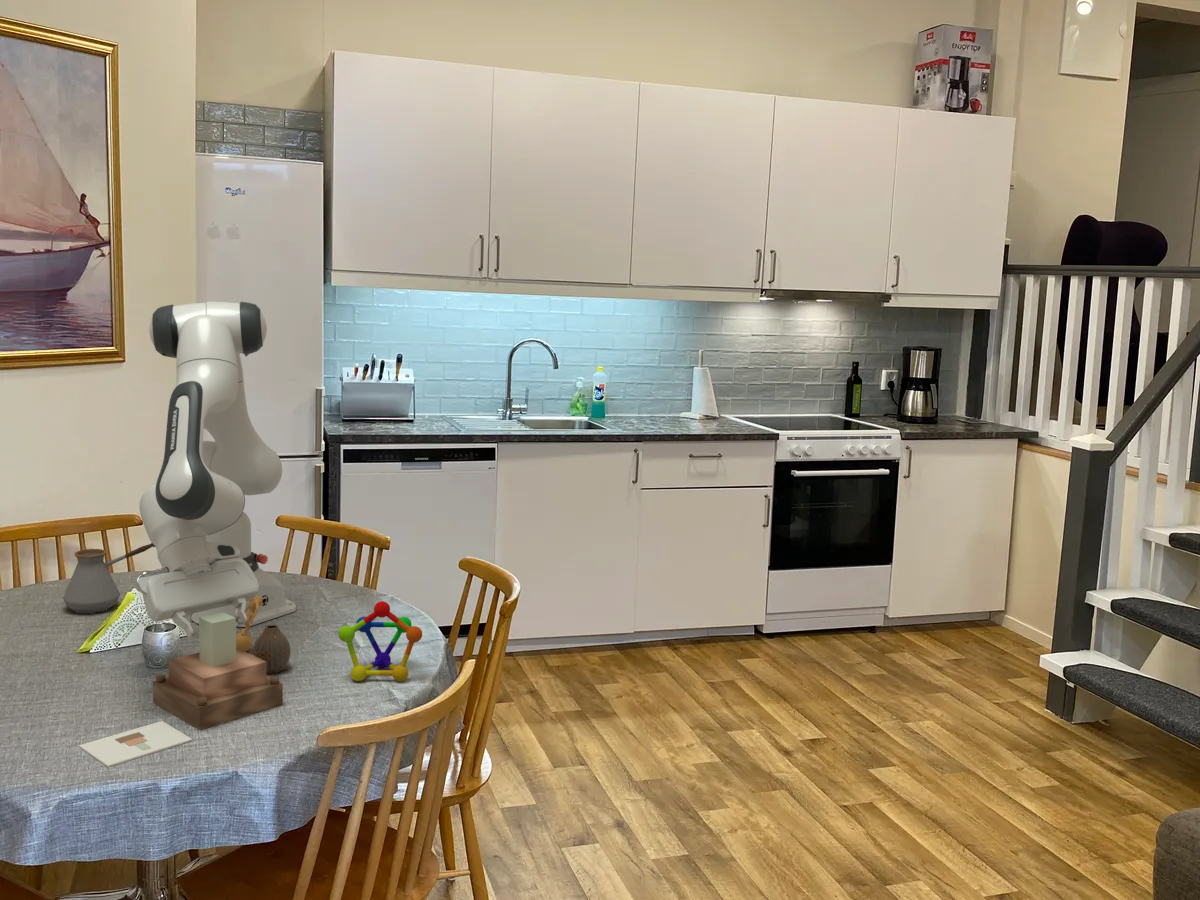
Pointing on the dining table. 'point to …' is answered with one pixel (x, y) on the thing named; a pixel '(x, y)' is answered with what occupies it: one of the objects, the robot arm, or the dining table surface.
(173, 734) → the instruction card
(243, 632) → the figurine
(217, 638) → the upright grey-green brick
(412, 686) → the dining table surface
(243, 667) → the stacked wooden pedestal
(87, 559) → the coffee pot
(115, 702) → the dining table surface
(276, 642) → the vase
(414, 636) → the educational toy
